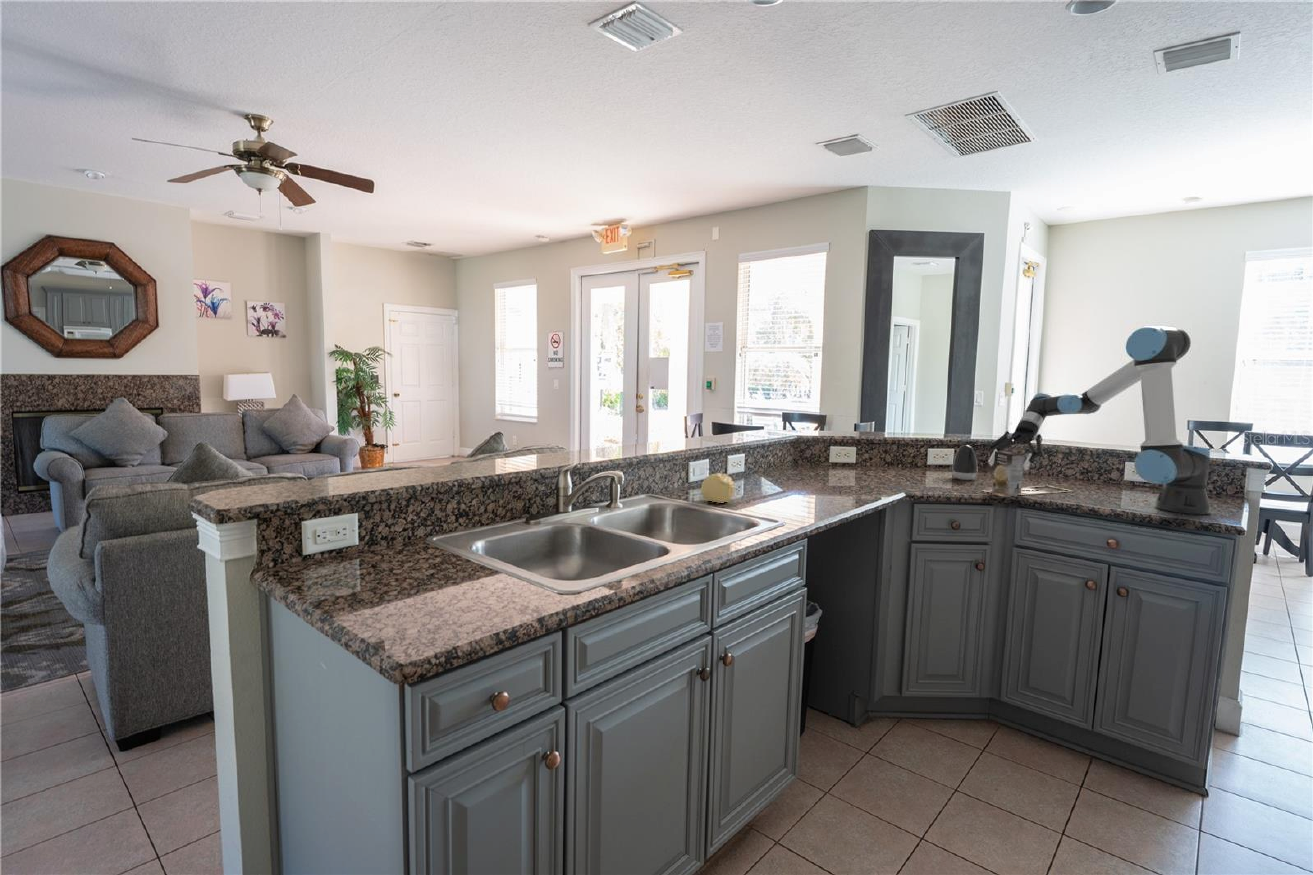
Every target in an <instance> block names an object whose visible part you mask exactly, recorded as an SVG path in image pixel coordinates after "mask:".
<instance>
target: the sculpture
mask: <svg viewBox="0 0 1313 875" xmlns="http://www.w3.org/2000/svg"><path fill="white" fill-rule="evenodd" d="M734 482H735V481H733V478H732V477H731V476H728V474H727V473H722V472H721V473H720V472H716V473H713V474H710V475H708V476H706V477H705V478H704V480H703V482H702V484H701V489H700V490H701V491H700V492H701V496H702V499H703V500H704V499H706V500H709V501H713V502H723V503H724V502H727V503H729V502H730V501H731V500H732V499H733V497H734V495H735V490H736V488H735V483H734ZM713 502H712V503H713Z"/></svg>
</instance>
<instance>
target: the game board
mask: <svg viewBox="0 0 1313 875" xmlns="http://www.w3.org/2000/svg"><path fill="white" fill-rule="evenodd" d="M1045 486H1048V487H1047V488H1051V487H1052V488H1051V489H1055V488H1056V490H1061V491H1048V490H1047V491H1046V490H1042V489H1039V488H1046V487H1045ZM1035 487H1039V488H1035ZM1022 490H1025V491H1022ZM1026 490H1030V491H1026ZM1032 490H1034V491H1032ZM1035 490H1039V491H1035ZM1065 490H1068V491H1065ZM983 491H984V493H987V492H989V493H988V494H991V493H992V495H995V496H999V497H1004V498H1011V496H1014V497H1018V496H1017V495H1006V494H1002V493H999V492H996V491H992V488H991V489H982V490H981V492H983ZM1061 492H1067V493H1074V490H1071V489H1065V488H1061V487H1056V486H1053V485H1037V486H1036V485H1034V486H1023V487H1022V488H1021V494H1020V495H1028V496H1038V495H1039V496H1040V495H1049V494H1050V493H1054V494H1062V493H1061ZM1050 495H1051V494H1050Z"/></svg>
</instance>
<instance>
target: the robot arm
mask: <svg viewBox="0 0 1313 875" xmlns="http://www.w3.org/2000/svg"><path fill="white" fill-rule="evenodd" d="M1191 344H1192V343H1191V338H1190V335H1189V334H1188V333H1187V332H1186V331H1185V330H1184V329H1182V328H1179V327H1175V326H1160V325H1149V326H1142V327H1139V328H1137V329H1136V330H1135V331H1133V332H1132V333H1131V334H1130V335H1129V337H1128V338H1127V340H1126V343H1125V350H1126V354H1127V356H1129V357H1130V358H1131V359H1132V360H1130V361H1129V362H1127V363H1126V364H1125V365H1123V366H1122V367H1120V368H1119V369H1117V370H1115V371H1114V372H1113V373H1111V374H1109V375H1108V376H1106V377H1105V378H1103V379H1102V380H1101V381H1099V382H1098V383H1095V385H1093V386H1091V387H1090V388H1088V389H1087V390H1086V391H1084V392H1083V393H1081V394H1075V393H1071V394H1063V395H1057V396H1056V395H1055V396H1052V395H1050V394H1049V393H1043V392H1039V393H1036V394H1035V395H1034V396H1033V398H1032V399H1031V400H1030V402H1029V405H1028V406H1027V408H1026V410H1025V411H1024V414H1023V415H1022V417H1021V419H1020V420H1019V422H1018V423H1017V426H1016V427H1015V431H1014V432H1013V433H1011V432H1010V431H1009V430H1007V431H1005V433H1004V434H1003V435H1001V436H1000V437H999V438H998V439H996V440H995V441H994V442H992V443H990V445H989V446H988V448H990V451H991V452H990V453H989V459H988V461H987V463H988V464H989V465H990V466H994V458H995V451H1004V450H1005V449H1007V448H1009V447H1010V446H1015V445H1021V446H1025V445H1027V446H1028V448H1029V450H1030V451H1031V452H1029V453H1028V455H1027V457H1026V459H1025V460H1024V464H1023V470H1024V471H1028V470H1029V468H1030V465H1031V464H1034V462H1035V460H1036V459H1037V457H1040V458H1041V457H1042V458H1043V456H1044V452H1043V445H1042V441H1043V437H1042V435H1041V433H1039V434H1038V432H1039V430H1040V428H1041V426H1042V424H1043V423H1044V421H1045V419H1046V418H1047V417H1051V416H1062V415H1063V416H1064V415H1090V414H1094V413H1097V412H1098V411H1099V410H1100V408H1101V407H1102V405H1103V404H1105V403H1107V402H1108V401H1110V400H1111V399H1112V398H1115V397H1116V396H1118V395H1119V394H1121V393H1122V392H1124V391H1126V390H1127V389H1129V388H1131V387H1132V386H1133V385H1134V386H1135V384H1137V383H1138V382H1140V386H1141V398H1142V400H1141V401H1142V411H1143V412H1142V413H1143V424H1144V425H1143V426H1144V428H1143V429H1144V438H1145V440H1144V441H1142V443H1140V446H1139V447H1140V448H1139V449H1140V452H1139V454H1138V455H1137V456H1136V457H1135V458H1134V464H1133V465H1134V469H1135V470H1134V471H1135V472H1136V473H1137V475H1138V476H1139V477H1140V478H1141V479H1142V480H1143V481H1145V482H1147V483H1150V484H1158V485H1163V487H1162V489H1161V491H1160V493H1159V495H1158V496H1157V498H1156V500H1155V508H1156V509H1160V510H1164V511H1168V512H1173V513H1178V514H1188V515H1209V514H1210V513H1211V504H1210V501H1209V497H1208V494H1207V483H1208V475H1209V469H1210V460H1211V457H1210V456H1211V452H1210V449H1209V448H1207V447H1202V446H1195V445H1186V444H1183V442H1182V441H1181V440H1179V439H1178V438H1177V428H1176V427H1177V426H1176V415H1175V400H1174V388H1173V387H1174V386H1173V372H1172V371H1173V370H1172V369H1173V367H1175V365H1177V364H1178V361H1179V360H1180V359H1182V358H1183V357H1184V356H1185V355H1186V354H1188V352H1189V351H1190V350H1189V349H1190V348H1191ZM1034 440H1035V442H1036V443H1035V444H1036V450H1037V451H1036V450H1035V448H1034V446H1033V445H1032V443H1031V442H1033V441H1034Z"/></svg>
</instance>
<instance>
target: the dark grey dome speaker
mask: <svg viewBox="0 0 1313 875" xmlns="http://www.w3.org/2000/svg"><path fill="white" fill-rule="evenodd" d="M978 470H979V468H978V461H977V456H976V453H975V449H974V448H973V447H972V446H971V445H969V444H963V445H961V446H960V447H959V449H958V450H957V451H956V453H955V456H954V459H953V463H952V467H951V471H952V474H953V476H954V477H955V478H956V479H958V480H961V481H970V480H973V479H975V477H976V476H977V474H978Z"/></svg>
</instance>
